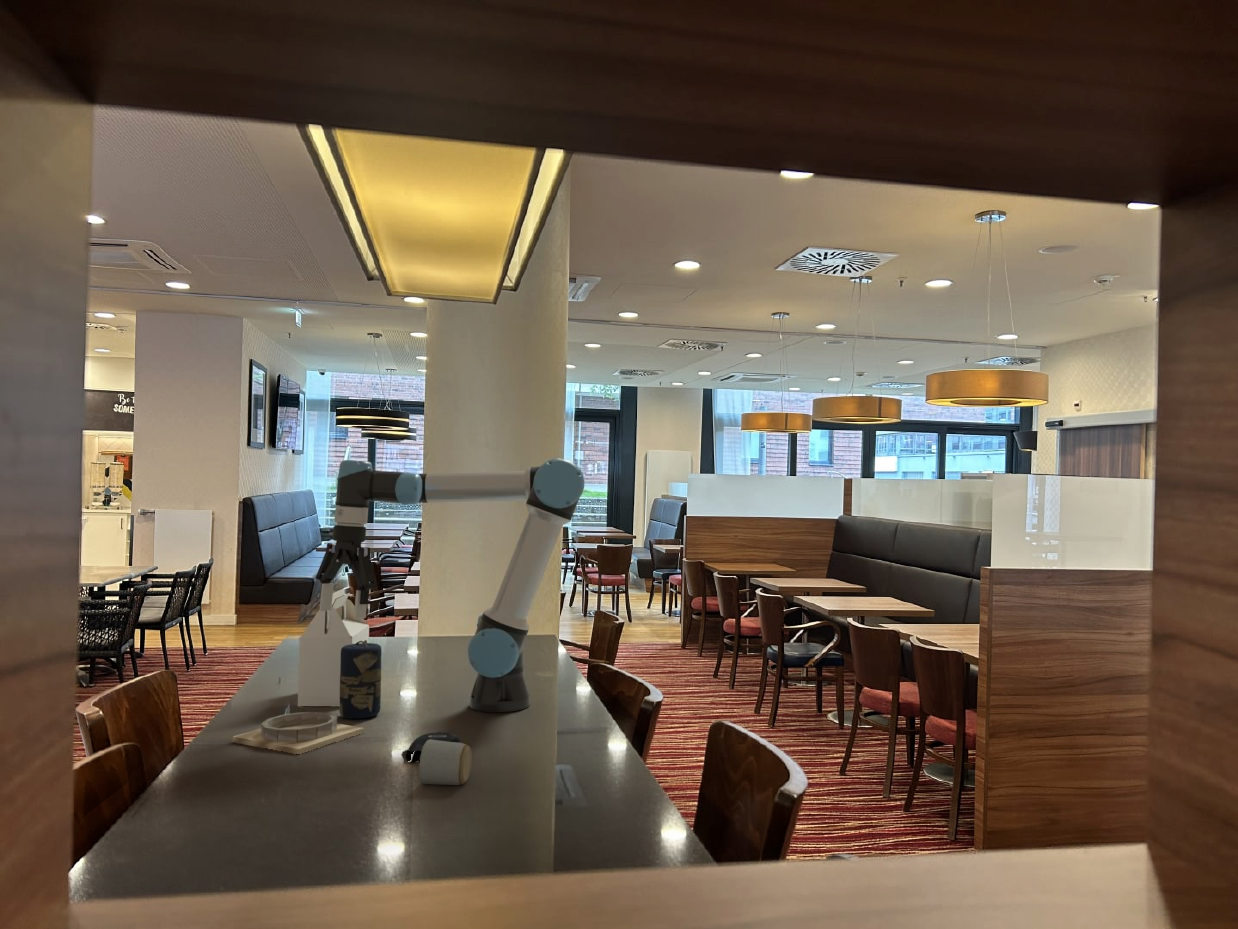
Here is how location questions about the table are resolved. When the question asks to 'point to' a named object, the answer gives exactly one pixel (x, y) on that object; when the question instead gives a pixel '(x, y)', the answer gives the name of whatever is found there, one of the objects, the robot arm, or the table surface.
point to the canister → (360, 680)
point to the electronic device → (422, 740)
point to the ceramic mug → (445, 763)
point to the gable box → (327, 651)
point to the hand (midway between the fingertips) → (342, 614)
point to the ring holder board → (297, 745)
